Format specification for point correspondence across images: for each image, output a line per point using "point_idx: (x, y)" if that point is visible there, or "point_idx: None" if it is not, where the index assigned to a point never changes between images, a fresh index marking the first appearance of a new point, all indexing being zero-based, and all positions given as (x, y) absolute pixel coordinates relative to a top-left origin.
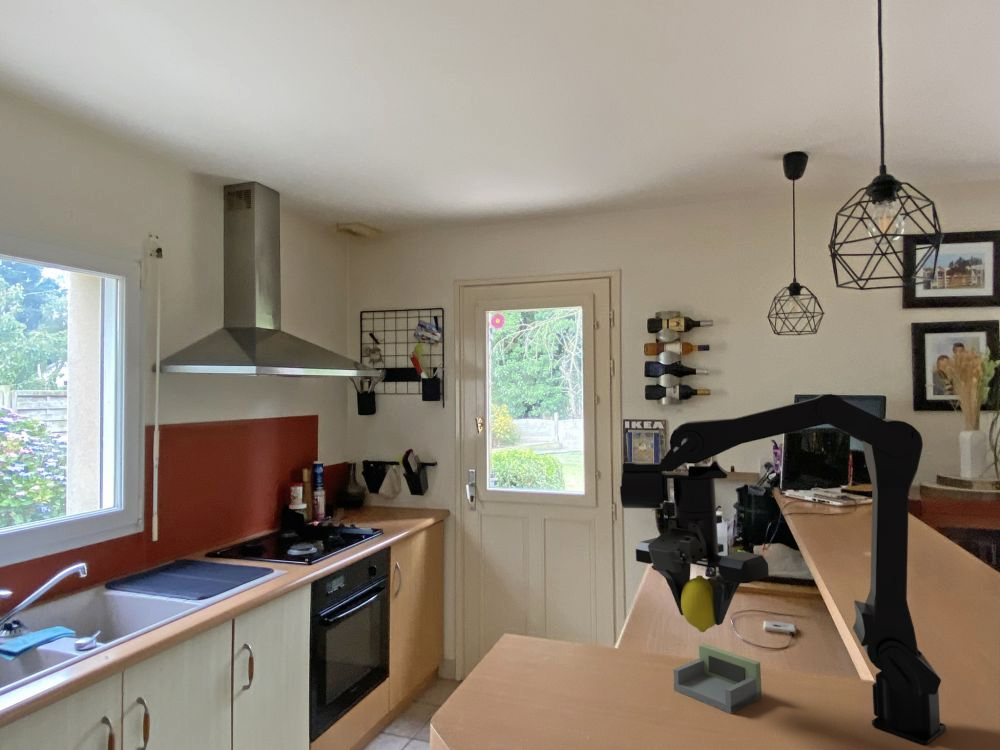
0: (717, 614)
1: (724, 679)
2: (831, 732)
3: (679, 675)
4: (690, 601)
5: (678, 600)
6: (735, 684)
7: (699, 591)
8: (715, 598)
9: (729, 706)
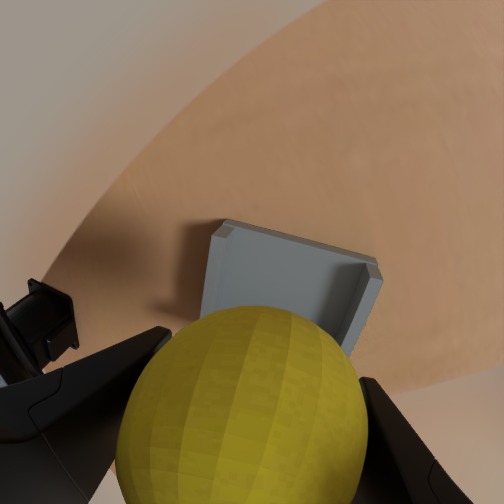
0: (125, 346)
1: None
2: (89, 252)
3: (366, 276)
4: (251, 382)
5: (388, 426)
6: (218, 277)
7: (159, 459)
8: (63, 392)
9: (225, 222)
